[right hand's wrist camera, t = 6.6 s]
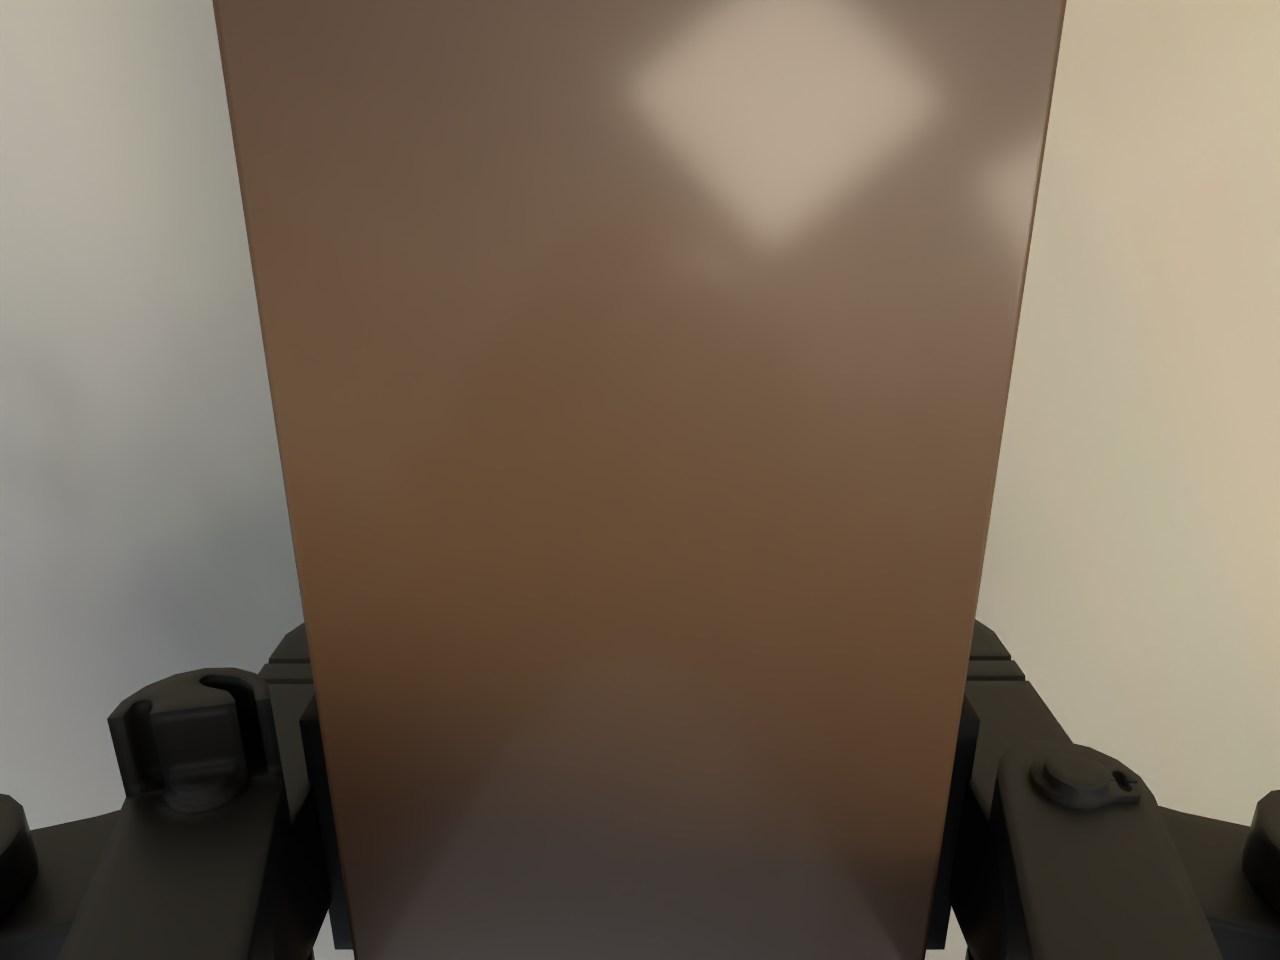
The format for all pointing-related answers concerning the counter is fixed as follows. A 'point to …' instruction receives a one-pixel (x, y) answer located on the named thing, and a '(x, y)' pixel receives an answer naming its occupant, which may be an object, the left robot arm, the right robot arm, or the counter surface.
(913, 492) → the post
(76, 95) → the counter surface
